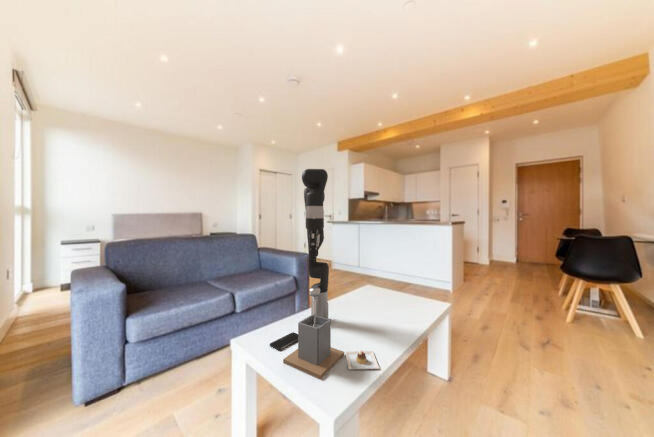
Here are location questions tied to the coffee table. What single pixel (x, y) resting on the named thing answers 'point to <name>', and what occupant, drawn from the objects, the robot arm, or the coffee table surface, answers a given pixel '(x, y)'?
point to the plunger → (314, 304)
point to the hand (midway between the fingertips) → (314, 257)
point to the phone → (285, 341)
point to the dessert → (361, 359)
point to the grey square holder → (314, 348)
